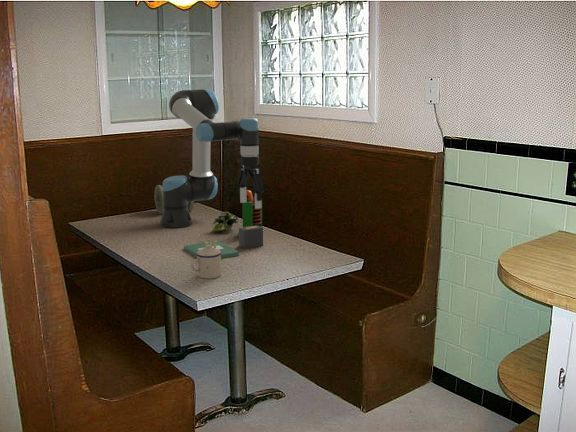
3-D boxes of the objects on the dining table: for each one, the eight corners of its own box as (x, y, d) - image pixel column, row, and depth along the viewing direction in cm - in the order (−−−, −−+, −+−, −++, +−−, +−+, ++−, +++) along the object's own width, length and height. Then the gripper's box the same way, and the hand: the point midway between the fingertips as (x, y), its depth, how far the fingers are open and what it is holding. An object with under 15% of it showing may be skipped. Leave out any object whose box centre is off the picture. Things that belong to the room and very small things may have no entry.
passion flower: (226, 240, 305) (237, 218, 307) (233, 242, 295) (245, 219, 297) (206, 229, 301) (218, 206, 303) (213, 230, 291) (225, 207, 293)
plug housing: (239, 245, 276) (238, 227, 275) (257, 242, 281) (257, 224, 279) (244, 248, 272) (244, 229, 270) (263, 245, 277) (262, 227, 275)
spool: (164, 216, 329) (162, 188, 326) (155, 211, 342) (153, 183, 338) (194, 213, 337) (193, 185, 333) (184, 207, 350) (183, 180, 346)
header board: (183, 249, 272) (183, 239, 270) (218, 243, 279) (217, 233, 278) (202, 261, 255) (202, 250, 254) (238, 255, 263) (238, 244, 262)
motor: (259, 236, 291) (258, 193, 286) (240, 235, 293) (239, 192, 288) (264, 231, 301) (263, 189, 296) (245, 230, 302) (245, 188, 298)
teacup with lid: (214, 269, 245) (213, 240, 242) (226, 276, 237) (225, 245, 235) (185, 275, 238) (184, 245, 235) (197, 282, 231) (196, 251, 228)
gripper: (272, 158, 259) (272, 209, 264) (244, 151, 280) (245, 199, 285) (255, 159, 255) (256, 211, 260) (228, 152, 276) (229, 201, 281)
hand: (250, 205), depth 272 cm, fingers open, 13 cm apart
